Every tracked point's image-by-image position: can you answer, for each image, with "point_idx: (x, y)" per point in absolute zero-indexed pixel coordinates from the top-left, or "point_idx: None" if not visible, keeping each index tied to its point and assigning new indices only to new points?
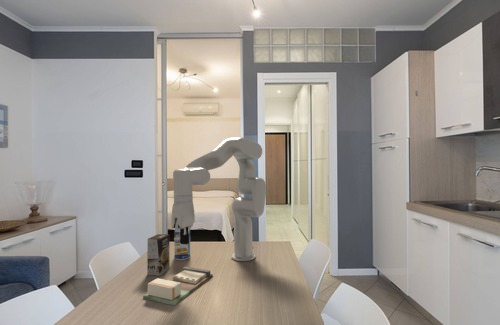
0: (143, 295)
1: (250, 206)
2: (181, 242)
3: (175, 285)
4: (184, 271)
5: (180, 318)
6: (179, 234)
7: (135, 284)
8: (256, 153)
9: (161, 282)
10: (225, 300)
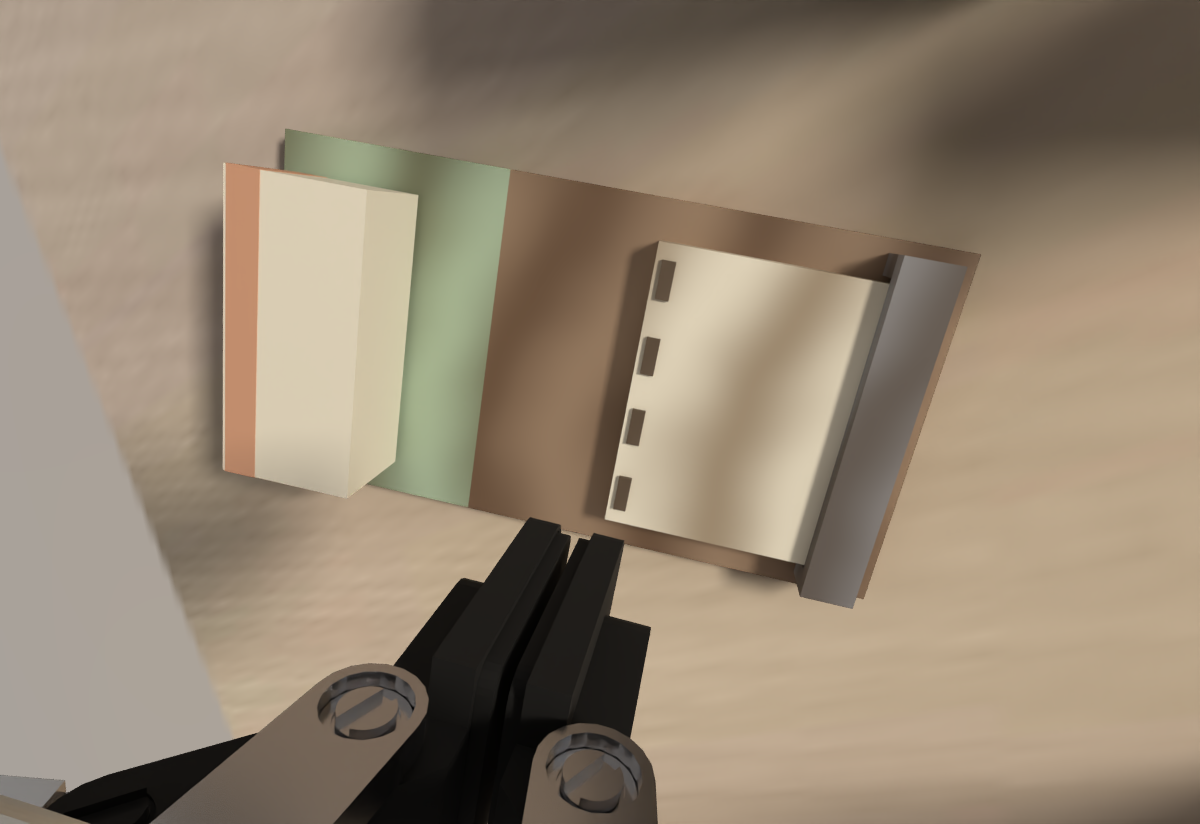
0: (286, 132)
1: None
2: (468, 582)
3: (280, 474)
4: (834, 306)
5: (180, 555)
6: (359, 666)
7: None
8: None
9: (290, 303)
10: None
